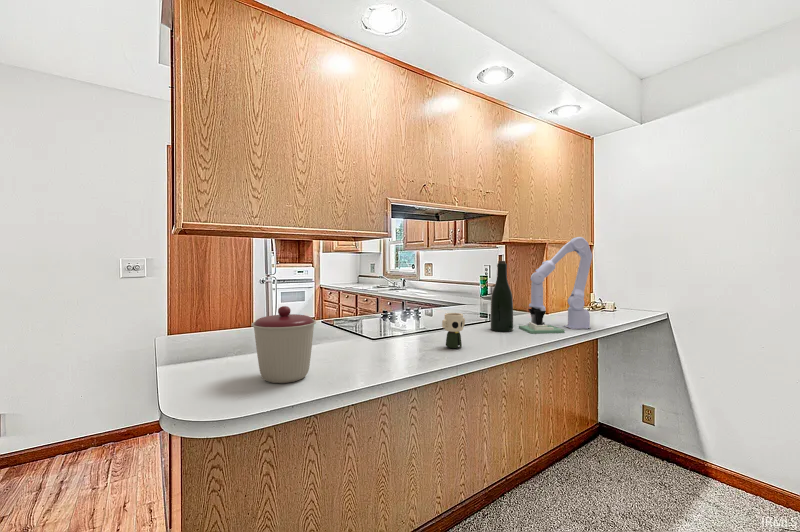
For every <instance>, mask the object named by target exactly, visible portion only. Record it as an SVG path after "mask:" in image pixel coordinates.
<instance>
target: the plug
mask: <svg viewBox="0 0 800 532" xmlns="http://www.w3.org/2000/svg"><path fill="white" fill-rule="evenodd" d="M530 317H531V319H530V320H531V321H530V322H531V323H533V324H536V325H546V324H545V323H546V322H544V321H543V320H542V323H541V324H537V323H536V316H535V314H530Z"/></svg>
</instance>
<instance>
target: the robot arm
mask: <svg viewBox="0 0 800 532" xmlns="http://www.w3.org/2000/svg"><path fill="white" fill-rule="evenodd" d="M572 252H576V253H577V255H578V256H579V257H580V260H579V263H578V268H577V272H576V276H575V281H574V285H573V289H572V291H571V293H570V295H569V297H568V298H567V304H568V308H567V324H565V325H563V327H565V328H569V329H572V330H576V329H577V330H581V329H584V330H585V329H586V330H587V329H588V328H590V329H591V327H590V326H591V324H590V323H591V318H590V317H591V316H590V315H591V314H590V312H589V310H588V309H585V308H584V306H585V305H586V304H585V302H586V301H585V290H586V289H585V288H586V285H587V280H588V276H589V273H590V269H591V264H592V259H593V253H592V249H591V247H590V245H589V242H588V240H586V239H585V238H584V237H583V236H577V237H573V238H571V239H570V241H568V242H567V243H565V244H564V245H563V246H562V247H561V248H560V249H559V250H558V251H557V252H556V253H555V255H554V256H553V257H552V258H551V259H550V260H545V261H542V263H541V265H540V266H539V267H538V268H536V269H535V271H534V272H533V273H532V274H531V276H530V281H531V283H530V285H531V286H530V287H531V288H530V303H529V304H528V307H529V308H528V312H529V313H530V315H531V314H535V316H536V323H537V324H541V323H542V320H543V319H544V316H545V315H546V312H547V311H546V306H545V305H544V286H543V285H544V281H545V279H546V278H547V277H548V276H549V275H551V273H552V272H554V270H555V269H556V264H558V263H559V262H560V261H561V260H562V259H563V258H564V257H565V256H566V255H567V254H569V253H572ZM588 330H589V329H588Z"/></svg>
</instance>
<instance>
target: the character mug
mask: <svg viewBox="0 0 800 532" xmlns="http://www.w3.org/2000/svg"><path fill="white" fill-rule="evenodd" d="M465 320H466V319H465V317H464V315H463V313H459V312H447V313H444V319H443V320H442V322H441V326H442V329H444V330H445V331H446V332H447V333H446V339H445V346H446V347H448V348H450V349H456V348H457V349H458V348H462V347H463V345H462V343H463V342H462V336H461V333H460V332H461V331H463V330H464V326H465V325H466V324H465V323H466V321H465Z"/></svg>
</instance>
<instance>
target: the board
mask: <svg viewBox="0 0 800 532" xmlns="http://www.w3.org/2000/svg"><path fill="white" fill-rule="evenodd" d="M518 329H520V330H522V331H524V332H527V333H528V334H531V335H534V334H565V331H566V330H564V329H563V328H559V327H556V326H554V325H551V324H543V325H536V324H533V323H531V321H530V322H528V325H518Z"/></svg>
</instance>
